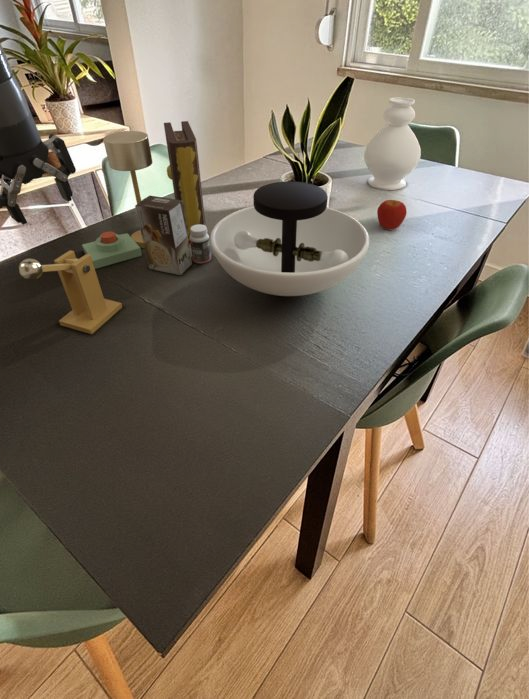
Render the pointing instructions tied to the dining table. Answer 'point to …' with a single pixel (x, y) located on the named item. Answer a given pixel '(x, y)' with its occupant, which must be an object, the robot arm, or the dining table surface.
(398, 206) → the apple
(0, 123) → the robot arm
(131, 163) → the desk lamp
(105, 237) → the power button
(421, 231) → the dining table surface
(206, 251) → the pill bottle
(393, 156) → the decorative vase
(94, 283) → the switch bracket
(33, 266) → the lamp switch
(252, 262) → the light fixture
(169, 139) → the book
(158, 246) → the coffee box
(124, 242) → the green push button base
